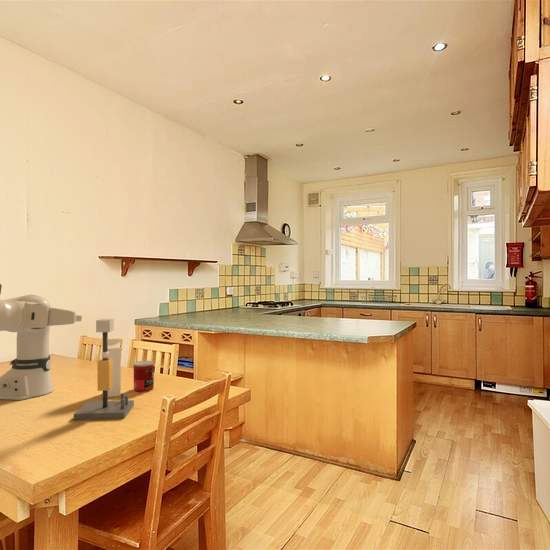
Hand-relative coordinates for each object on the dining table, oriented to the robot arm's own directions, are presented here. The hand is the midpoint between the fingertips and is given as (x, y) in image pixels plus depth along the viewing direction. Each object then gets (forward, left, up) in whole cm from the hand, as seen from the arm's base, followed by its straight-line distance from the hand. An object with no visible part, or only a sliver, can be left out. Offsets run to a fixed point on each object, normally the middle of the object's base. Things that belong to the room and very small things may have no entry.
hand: (70, 318), depth 123 cm
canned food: (+15, +35, -34) cm, 51 cm away
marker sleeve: (+8, +9, -25) cm, 28 cm away
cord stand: (+8, +9, -33) cm, 35 cm away
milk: (+4, +29, -34) cm, 44 cm away
